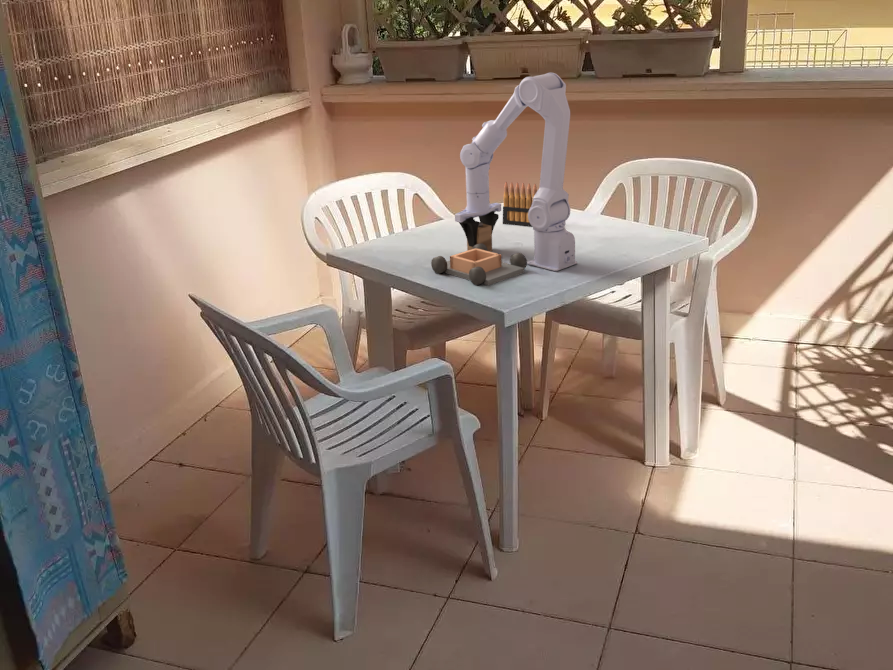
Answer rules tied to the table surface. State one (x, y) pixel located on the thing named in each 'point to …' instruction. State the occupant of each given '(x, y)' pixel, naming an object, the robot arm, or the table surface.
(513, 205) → the ammunition clip
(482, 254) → the chassis
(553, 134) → the robot arm
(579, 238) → the table surface
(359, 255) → the table surface
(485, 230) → the block
